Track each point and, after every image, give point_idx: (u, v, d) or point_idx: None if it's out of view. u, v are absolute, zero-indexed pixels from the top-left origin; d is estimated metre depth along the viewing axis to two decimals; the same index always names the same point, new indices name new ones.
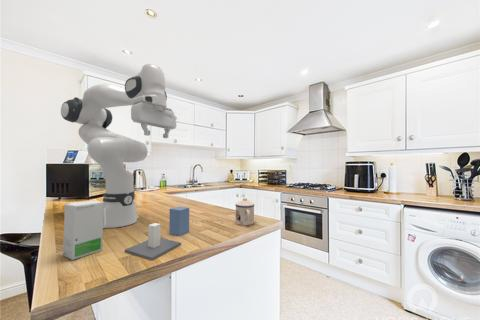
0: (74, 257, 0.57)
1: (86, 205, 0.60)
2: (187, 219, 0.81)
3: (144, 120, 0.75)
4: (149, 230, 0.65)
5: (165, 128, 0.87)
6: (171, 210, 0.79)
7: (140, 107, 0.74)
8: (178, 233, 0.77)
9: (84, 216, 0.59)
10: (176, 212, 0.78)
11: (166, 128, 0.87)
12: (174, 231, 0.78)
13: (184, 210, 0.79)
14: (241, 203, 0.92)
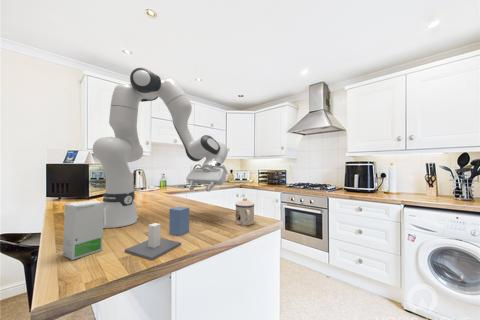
0: (74, 257, 0.57)
1: (86, 205, 0.60)
2: (187, 219, 0.81)
3: None
4: (149, 230, 0.65)
5: (194, 182, 0.96)
6: (171, 210, 0.79)
7: None
8: (178, 233, 0.77)
9: (84, 216, 0.59)
10: (176, 212, 0.78)
11: (194, 182, 0.96)
12: (174, 231, 0.78)
13: (184, 210, 0.79)
14: (241, 203, 0.92)
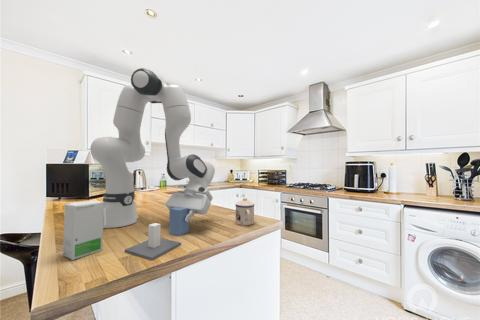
0: (74, 257, 0.57)
1: (86, 205, 0.60)
2: None
3: None
4: (149, 230, 0.65)
5: None
6: (171, 210, 0.79)
7: None
8: (178, 233, 0.77)
9: (84, 216, 0.59)
10: (176, 212, 0.78)
11: None
12: (174, 231, 0.78)
13: (184, 210, 0.79)
14: (241, 203, 0.92)
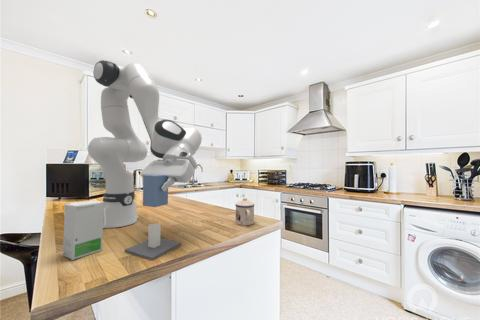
0: (74, 257, 0.57)
1: (86, 205, 0.60)
2: None
3: None
4: (149, 230, 0.65)
5: None
6: (145, 177, 0.64)
7: None
8: (153, 204, 0.62)
9: (84, 216, 0.59)
10: (150, 179, 0.63)
11: None
12: (148, 202, 0.63)
13: (161, 177, 0.65)
14: (241, 203, 0.92)
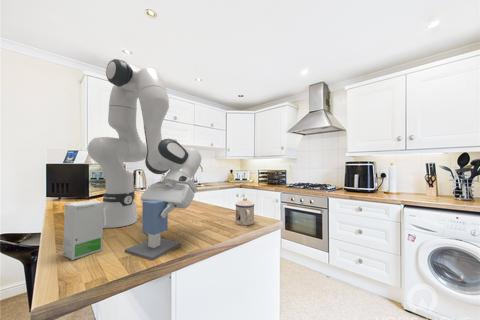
0: (74, 257, 0.57)
1: (86, 205, 0.60)
2: None
3: None
4: None
5: None
6: (144, 203, 0.64)
7: None
8: (152, 232, 0.62)
9: (84, 216, 0.59)
10: (149, 206, 0.63)
11: None
12: (147, 229, 0.63)
13: (160, 203, 0.64)
14: (241, 203, 0.92)
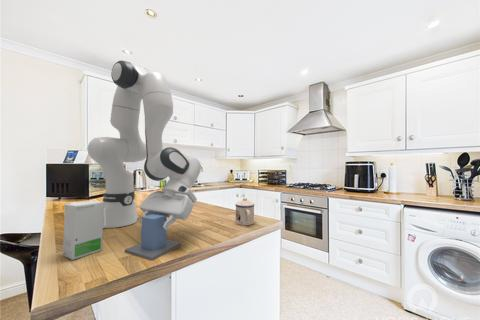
0: (74, 257, 0.57)
1: (86, 205, 0.60)
2: (164, 229, 0.66)
3: None
4: None
5: (149, 212, 0.70)
6: (143, 219, 0.64)
7: None
8: (151, 247, 0.62)
9: (84, 216, 0.59)
10: (149, 222, 0.63)
11: (150, 213, 0.70)
12: (146, 244, 0.63)
13: (159, 218, 0.64)
14: (241, 203, 0.92)
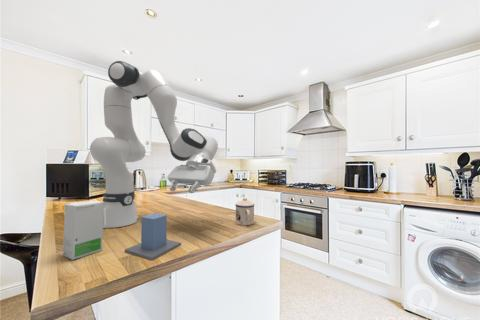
0: (74, 257, 0.57)
1: (86, 205, 0.60)
2: (164, 229, 0.66)
3: None
4: None
5: (176, 181, 0.81)
6: (143, 219, 0.64)
7: None
8: (151, 247, 0.62)
9: (84, 216, 0.59)
10: (149, 222, 0.63)
11: (176, 182, 0.82)
12: (146, 244, 0.63)
13: (159, 218, 0.64)
14: (241, 203, 0.92)
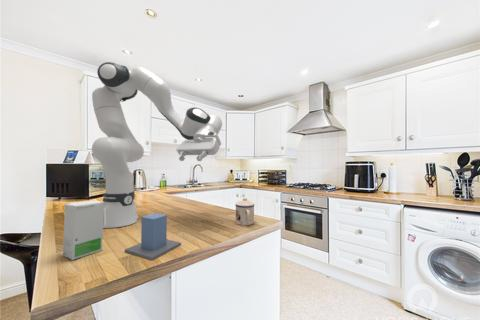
0: (74, 257, 0.57)
1: (86, 205, 0.60)
2: (164, 229, 0.66)
3: None
4: None
5: (184, 152, 0.89)
6: (143, 219, 0.64)
7: None
8: (151, 247, 0.62)
9: (84, 216, 0.59)
10: (149, 222, 0.63)
11: (185, 153, 0.89)
12: (146, 244, 0.63)
13: (159, 218, 0.64)
14: (241, 203, 0.92)
